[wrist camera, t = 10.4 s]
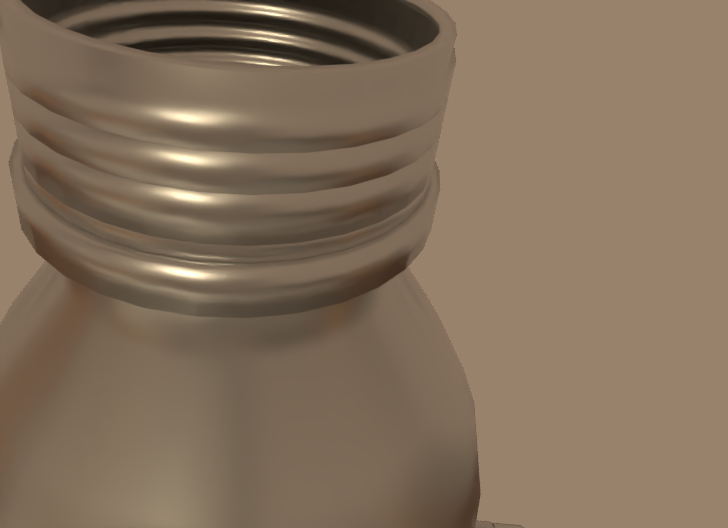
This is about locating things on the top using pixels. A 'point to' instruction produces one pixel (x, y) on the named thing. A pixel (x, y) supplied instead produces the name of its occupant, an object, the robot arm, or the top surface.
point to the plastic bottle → (230, 268)
